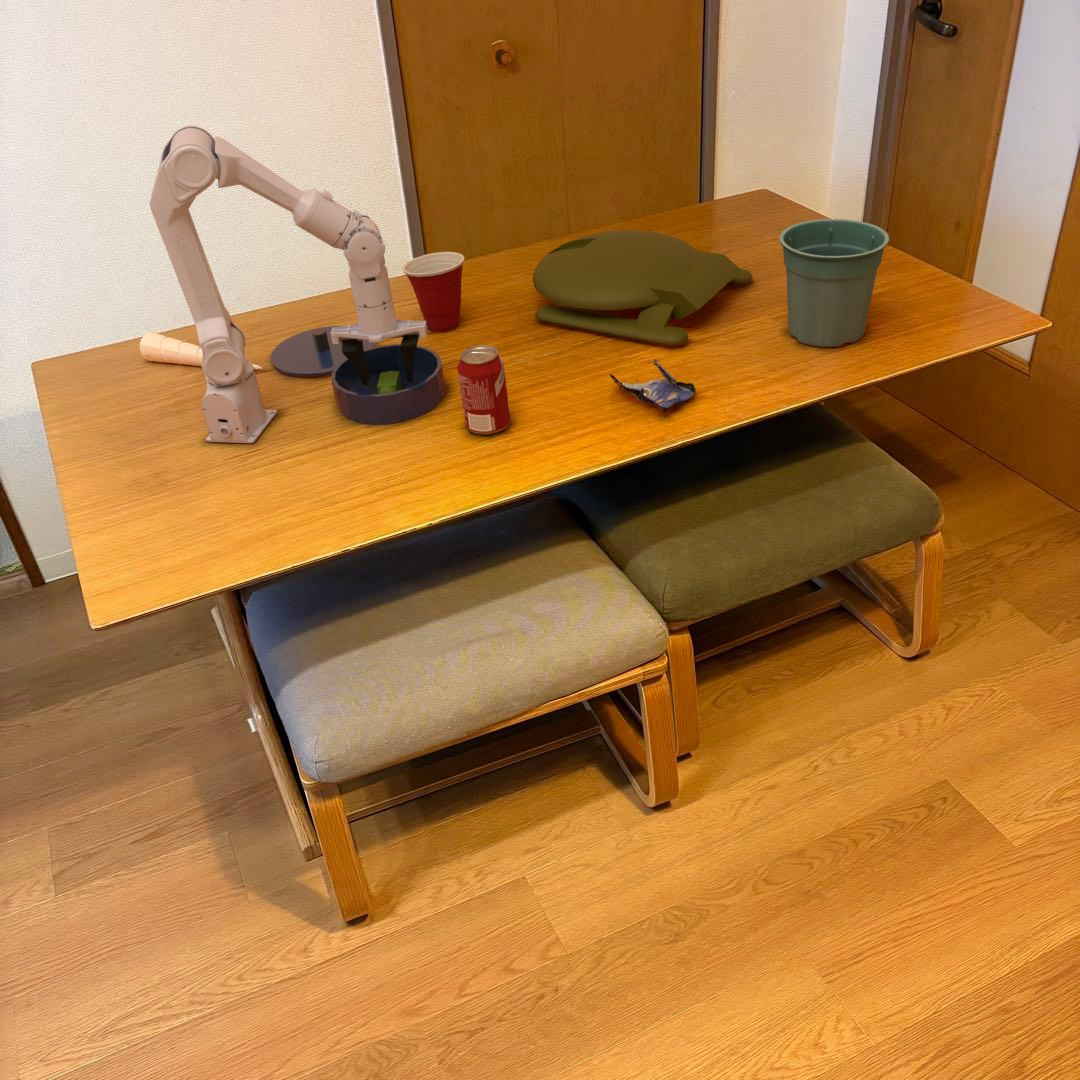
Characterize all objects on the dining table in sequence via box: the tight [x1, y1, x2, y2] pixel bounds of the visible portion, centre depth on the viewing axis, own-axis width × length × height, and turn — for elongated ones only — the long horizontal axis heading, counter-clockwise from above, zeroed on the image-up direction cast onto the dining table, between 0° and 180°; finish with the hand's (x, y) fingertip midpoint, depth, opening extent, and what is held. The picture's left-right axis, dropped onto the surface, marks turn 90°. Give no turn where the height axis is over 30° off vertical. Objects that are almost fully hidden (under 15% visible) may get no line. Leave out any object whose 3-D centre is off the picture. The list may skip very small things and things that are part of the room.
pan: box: [330, 343, 446, 426], centre depth 172 cm, size 17×17×5 cm
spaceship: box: [532, 229, 753, 348], centre depth 192 cm, size 35×31×10 cm
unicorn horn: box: [139, 331, 264, 371], centre depth 187 cm, size 5×24×5 cm, turn 65°
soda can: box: [456, 344, 512, 436], centre depth 159 cm, size 7×7×12 cm
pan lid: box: [270, 325, 376, 377], centre depth 186 cm, size 18×18×4 cm
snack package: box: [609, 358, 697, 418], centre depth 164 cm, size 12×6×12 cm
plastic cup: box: [402, 251, 465, 333], centre depth 190 cm, size 11×11×12 cm
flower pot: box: [779, 218, 890, 348], centre depth 173 cm, size 16×16×16 cm
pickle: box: [377, 371, 402, 394], centre depth 172 cm, size 7×3×3 cm, turn 179°
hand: (388, 380), depth 171 cm, fingers open, 6 cm apart
